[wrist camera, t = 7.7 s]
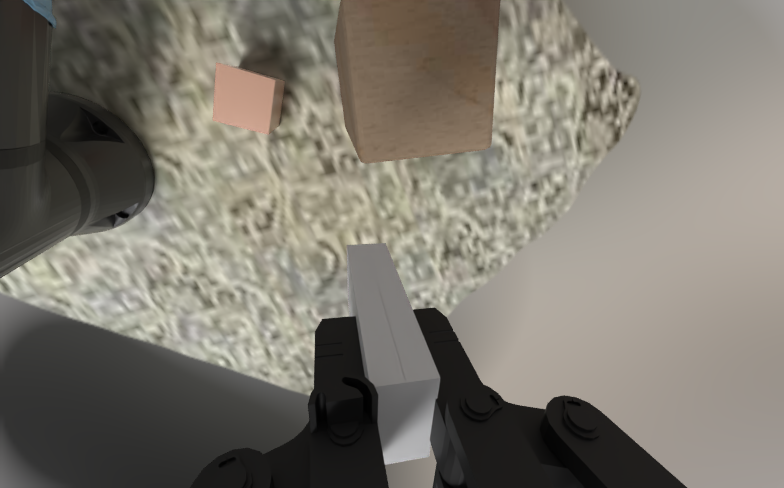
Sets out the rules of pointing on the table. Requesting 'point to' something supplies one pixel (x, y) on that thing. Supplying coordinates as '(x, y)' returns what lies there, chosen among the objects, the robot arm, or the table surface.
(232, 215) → the table surface
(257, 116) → the terracotta block
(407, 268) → the table surface
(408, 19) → the wooden block
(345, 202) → the table surface
